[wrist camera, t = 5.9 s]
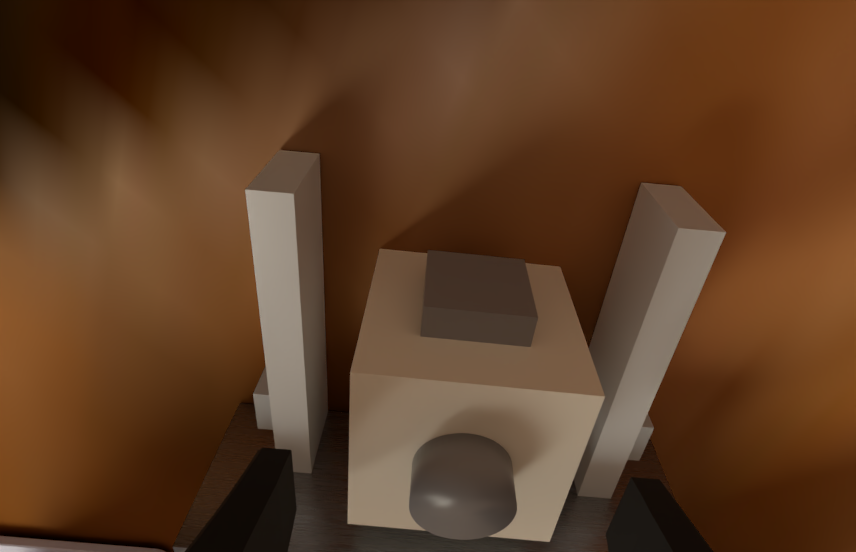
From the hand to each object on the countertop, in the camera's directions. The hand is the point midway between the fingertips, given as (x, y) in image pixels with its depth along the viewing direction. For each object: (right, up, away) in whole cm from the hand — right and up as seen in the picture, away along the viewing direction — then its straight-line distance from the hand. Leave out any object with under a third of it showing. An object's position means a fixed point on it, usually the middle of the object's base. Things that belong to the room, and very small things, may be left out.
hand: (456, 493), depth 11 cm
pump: (0, +3, +4) cm, 6 cm away
